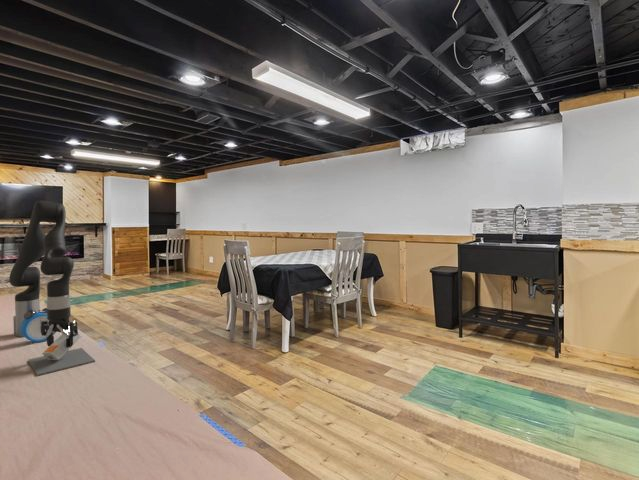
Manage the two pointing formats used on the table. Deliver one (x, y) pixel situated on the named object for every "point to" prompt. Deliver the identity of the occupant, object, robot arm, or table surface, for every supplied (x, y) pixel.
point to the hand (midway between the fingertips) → (60, 346)
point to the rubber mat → (60, 362)
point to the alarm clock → (33, 325)
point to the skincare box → (59, 347)
